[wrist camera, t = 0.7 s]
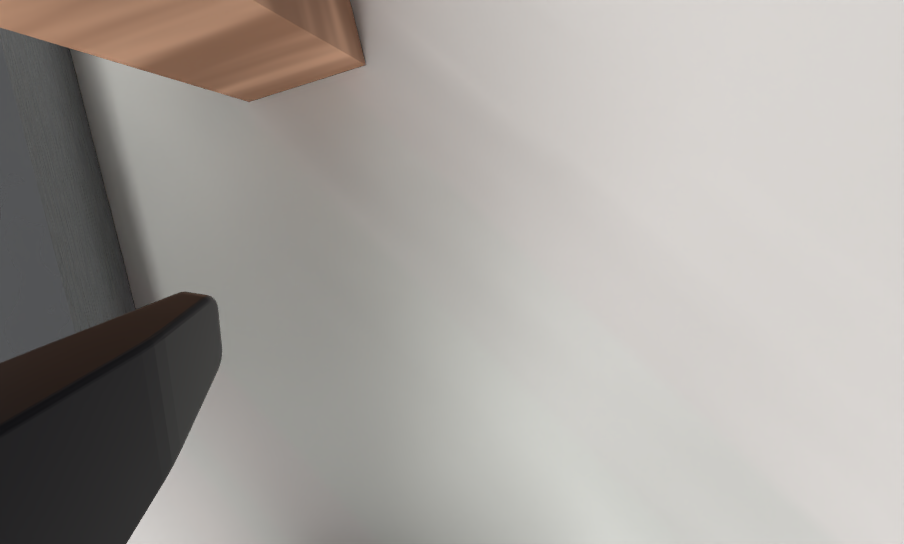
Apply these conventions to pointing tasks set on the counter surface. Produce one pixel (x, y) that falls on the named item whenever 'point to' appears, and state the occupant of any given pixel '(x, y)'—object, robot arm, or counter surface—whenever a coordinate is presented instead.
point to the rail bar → (51, 205)
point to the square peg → (203, 38)
